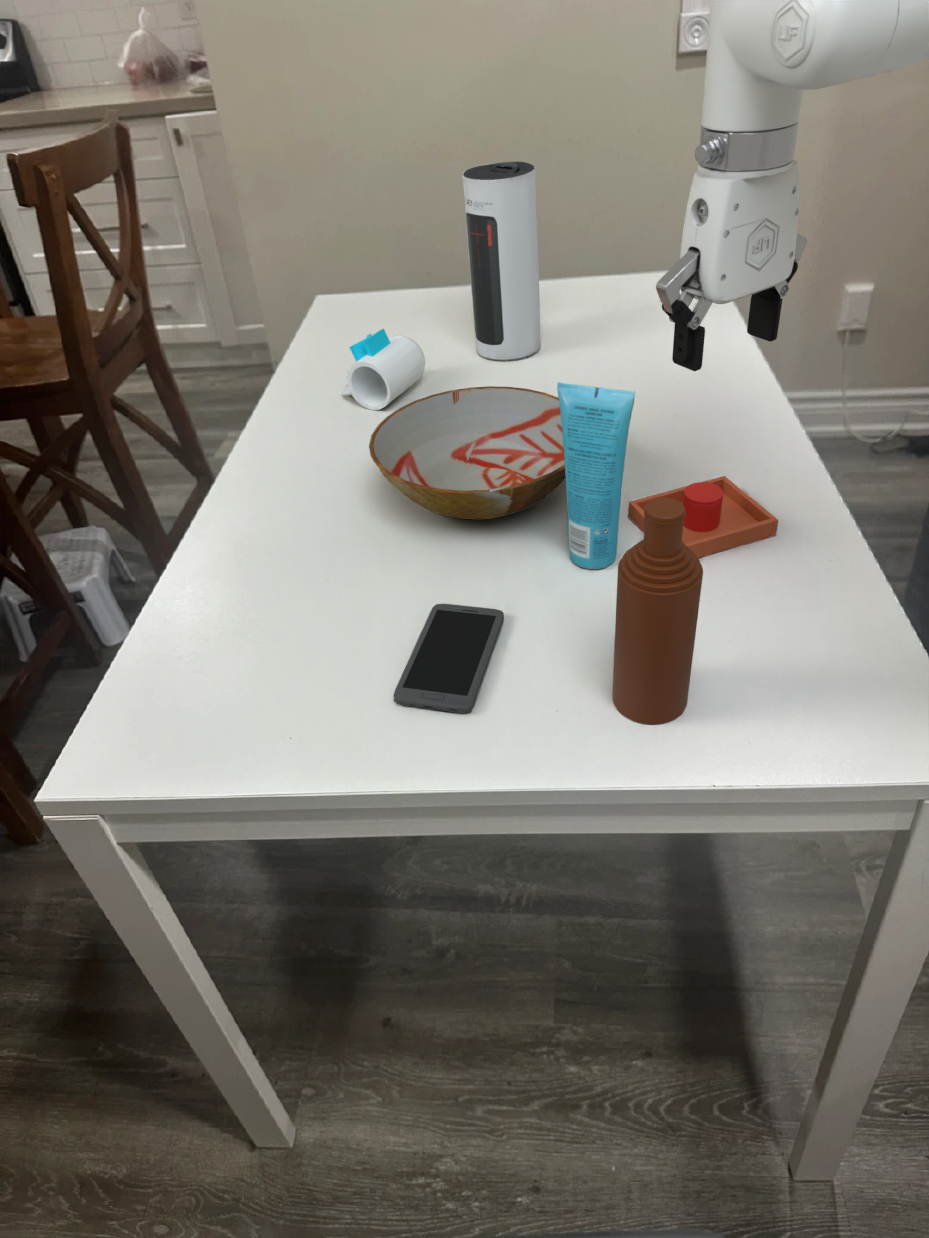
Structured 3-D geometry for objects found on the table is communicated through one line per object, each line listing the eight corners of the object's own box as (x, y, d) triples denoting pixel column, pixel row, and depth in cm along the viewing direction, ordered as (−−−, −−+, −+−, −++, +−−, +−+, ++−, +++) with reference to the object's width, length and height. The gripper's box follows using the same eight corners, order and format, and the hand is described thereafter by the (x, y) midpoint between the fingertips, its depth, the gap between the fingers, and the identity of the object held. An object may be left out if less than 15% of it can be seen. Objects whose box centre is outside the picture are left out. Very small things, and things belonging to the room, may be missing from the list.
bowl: (403, 576, 92) (393, 512, 87) (361, 466, 111) (351, 408, 106) (623, 526, 96) (627, 463, 91) (547, 428, 115) (546, 371, 110)
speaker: (462, 347, 138) (447, 167, 121) (515, 330, 142) (508, 153, 125) (500, 367, 131) (489, 179, 114) (555, 348, 134) (552, 164, 118)
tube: (631, 548, 92) (640, 379, 80) (622, 575, 89) (630, 402, 77) (563, 540, 95) (562, 373, 82) (552, 565, 91) (549, 396, 79)
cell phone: (391, 704, 77) (390, 698, 76) (435, 607, 87) (434, 601, 86) (471, 715, 75) (470, 709, 75) (506, 614, 85) (505, 609, 85)
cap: (673, 524, 94) (676, 494, 92) (693, 507, 97) (696, 478, 94) (707, 536, 92) (711, 506, 90) (726, 519, 94) (730, 489, 92)
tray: (722, 490, 100) (724, 475, 98) (776, 535, 92) (778, 519, 91) (627, 516, 97) (628, 501, 96) (674, 565, 90) (676, 549, 88)
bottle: (663, 664, 78) (681, 477, 66) (701, 711, 74) (728, 518, 61) (599, 685, 77) (605, 497, 64) (634, 733, 72) (647, 541, 60)
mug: (413, 310, 124) (367, 342, 116) (440, 368, 128) (398, 403, 120) (356, 333, 131) (309, 365, 124) (383, 388, 135) (340, 422, 127)
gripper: (702, 177, 65) (685, 391, 75) (855, 134, 71) (820, 337, 82) (634, 163, 70) (627, 366, 81) (783, 125, 76) (758, 317, 87)
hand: (724, 351), depth 81 cm, fingers open, 9 cm apart
